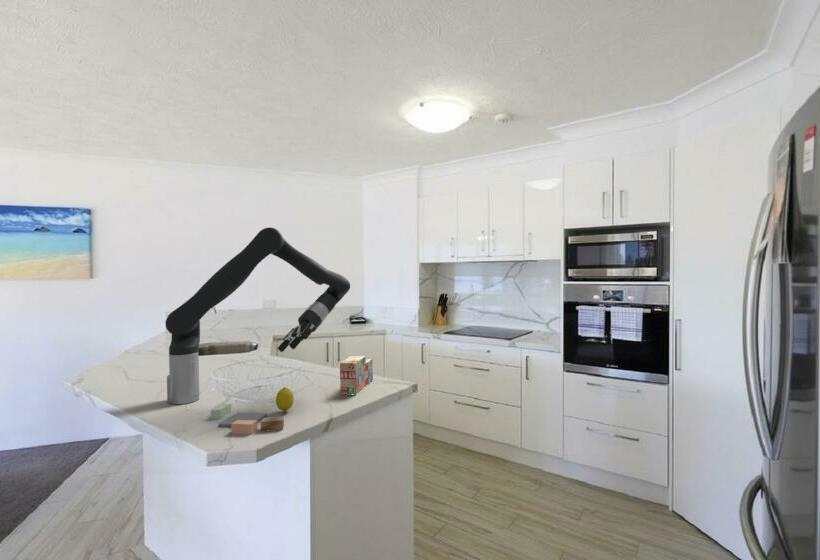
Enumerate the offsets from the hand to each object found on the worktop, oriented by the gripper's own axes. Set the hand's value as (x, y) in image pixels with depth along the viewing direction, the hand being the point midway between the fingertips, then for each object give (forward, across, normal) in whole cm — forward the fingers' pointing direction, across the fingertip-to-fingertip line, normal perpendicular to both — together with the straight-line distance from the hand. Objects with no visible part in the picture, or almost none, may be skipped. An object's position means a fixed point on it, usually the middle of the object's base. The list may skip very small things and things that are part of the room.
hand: (285, 348), depth 133 cm
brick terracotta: (+29, +8, +5) cm, 30 cm away
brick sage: (+26, -11, +2) cm, 28 cm away
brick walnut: (+24, +11, +10) cm, 28 cm away
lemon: (+15, +1, +14) cm, 21 cm away
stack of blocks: (-12, -5, +34) cm, 36 cm away
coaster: (+25, -1, +6) cm, 25 cm away
